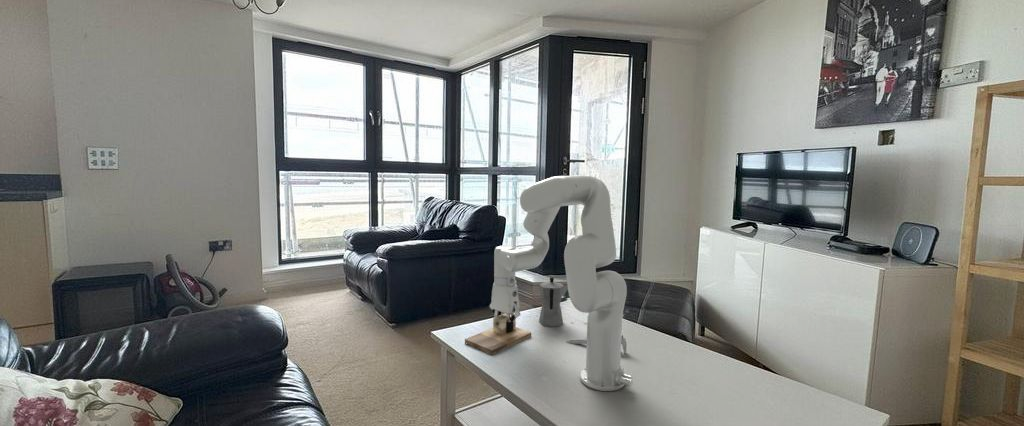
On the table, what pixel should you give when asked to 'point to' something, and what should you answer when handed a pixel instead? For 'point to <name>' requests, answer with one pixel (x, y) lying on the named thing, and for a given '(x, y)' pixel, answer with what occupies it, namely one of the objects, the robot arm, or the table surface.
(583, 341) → the caliper
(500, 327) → the beige block with knob
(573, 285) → the robot arm
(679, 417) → the table surface
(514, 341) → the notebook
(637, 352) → the table surface
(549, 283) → the coffeepot
